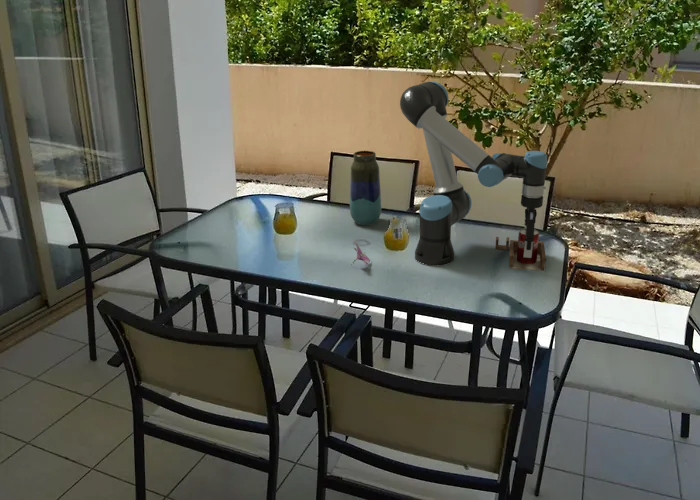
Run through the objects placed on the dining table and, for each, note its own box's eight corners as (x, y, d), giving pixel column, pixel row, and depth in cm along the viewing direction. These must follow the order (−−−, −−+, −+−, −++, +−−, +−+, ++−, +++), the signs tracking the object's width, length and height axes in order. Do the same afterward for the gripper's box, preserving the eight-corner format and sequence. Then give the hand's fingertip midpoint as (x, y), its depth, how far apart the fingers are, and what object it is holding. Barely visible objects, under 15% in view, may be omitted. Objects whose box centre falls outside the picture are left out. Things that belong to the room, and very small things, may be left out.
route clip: (495, 249, 246) (496, 240, 245) (495, 246, 250) (496, 236, 248) (508, 250, 245) (509, 240, 244) (508, 246, 248) (509, 237, 247)
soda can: (537, 266, 230) (540, 235, 225) (516, 265, 231) (519, 234, 226) (535, 258, 236) (538, 228, 231) (516, 257, 238) (518, 227, 233)
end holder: (509, 268, 230) (510, 255, 228) (509, 252, 243) (510, 239, 241) (544, 271, 227) (545, 257, 225) (542, 254, 241) (543, 242, 239)
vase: (382, 227, 272) (381, 156, 259) (350, 228, 272) (348, 157, 260) (381, 216, 284) (380, 148, 272) (350, 217, 285) (348, 149, 272)
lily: (361, 279, 227) (373, 256, 225) (335, 262, 231) (347, 239, 228) (371, 275, 239) (383, 254, 236) (346, 259, 242) (358, 238, 240)
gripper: (545, 207, 211) (538, 264, 220) (541, 185, 234) (536, 237, 242) (522, 205, 213) (516, 262, 221) (521, 184, 235) (516, 236, 244)
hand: (527, 249), depth 232 cm, fingers open, 13 cm apart
